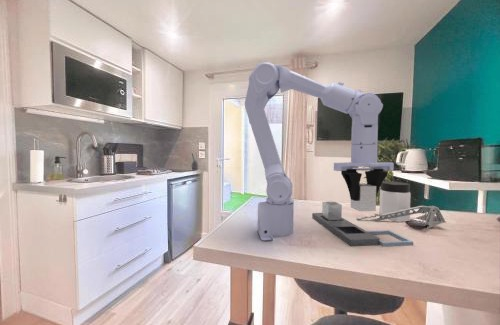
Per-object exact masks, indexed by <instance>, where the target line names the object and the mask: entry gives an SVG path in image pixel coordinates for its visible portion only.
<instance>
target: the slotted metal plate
mask: <svg viewBox="0 0 500 325" xmlns="http://www.w3.org/2000/svg"><path fill="white" fill-rule="evenodd" d="M311 217H312V219H313V220H314V221H315V222H317V223H318V224H320V225H321V226H323V227H324V228H325V229H327V230H328V231H329V232H330V233H332V235H334V236H336V237H337V238H338V239H339V240H341V241H342V242H343V243H345V244H346V245H347V246H348V247H350V248H351V247H366V246H367V247H371V246H374V247H375V246H380V245H379V240H381V239H380V238H379V237H378V236H377V235H372V234H370V233H369V232H367V231H368V230H365V229H363V228H362V227H360V226H358V225H356V224H355V223H352V222H351V221H349V220H348V219H345V218H343V217H342V216H341V221H326V220H325V219H323V218H322V212H312V213H311Z"/></svg>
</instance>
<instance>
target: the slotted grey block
mask: <svg viewBox="0 0 500 325" xmlns="http://www.w3.org/2000/svg"><path fill="white" fill-rule="evenodd" d="M321 209H322V210H321V213H322V218H323V219H325V220H326V221H341V217H342V210H343V205H342V204H341V203H339V202H336V201H322V205H321Z"/></svg>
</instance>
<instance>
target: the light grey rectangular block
mask: <svg viewBox="0 0 500 325" xmlns="http://www.w3.org/2000/svg"><path fill="white" fill-rule="evenodd" d="M376 207H377V197H376V186H374V185H370V184H367V183H359V196H358V201H354V200H351V199H350V208H352V209H353V210H356V211H358V212H376V211H377V209H376Z"/></svg>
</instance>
